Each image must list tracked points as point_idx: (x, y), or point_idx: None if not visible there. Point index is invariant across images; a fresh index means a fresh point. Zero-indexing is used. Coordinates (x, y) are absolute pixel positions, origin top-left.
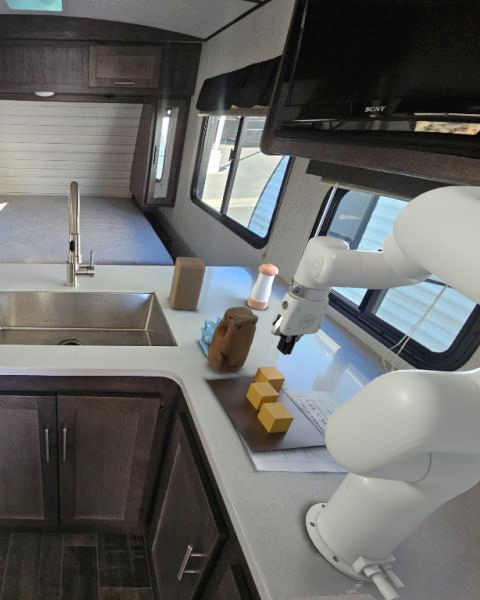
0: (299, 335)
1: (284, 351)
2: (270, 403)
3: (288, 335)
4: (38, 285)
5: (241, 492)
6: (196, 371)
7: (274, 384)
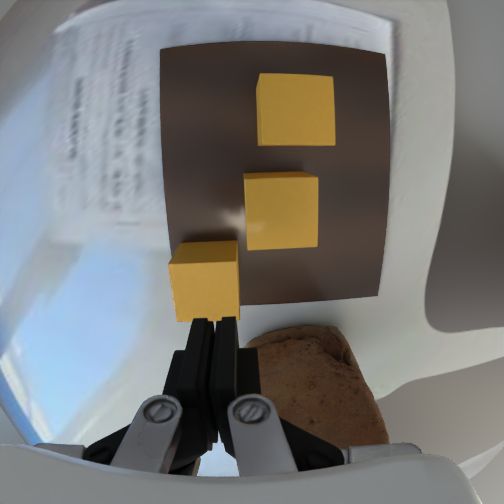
0: (145, 452)
1: (236, 337)
2: (308, 141)
3: (374, 461)
4: (462, 465)
5: (433, 6)
6: (380, 326)
7: (206, 252)
